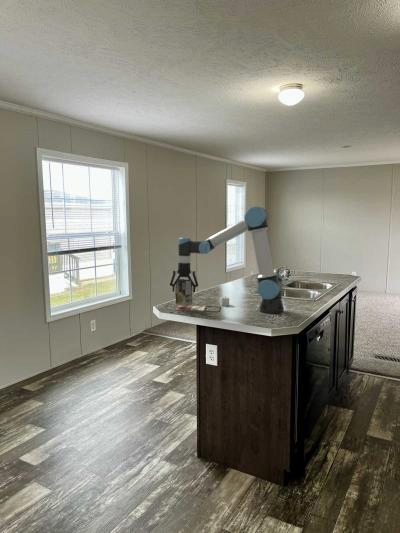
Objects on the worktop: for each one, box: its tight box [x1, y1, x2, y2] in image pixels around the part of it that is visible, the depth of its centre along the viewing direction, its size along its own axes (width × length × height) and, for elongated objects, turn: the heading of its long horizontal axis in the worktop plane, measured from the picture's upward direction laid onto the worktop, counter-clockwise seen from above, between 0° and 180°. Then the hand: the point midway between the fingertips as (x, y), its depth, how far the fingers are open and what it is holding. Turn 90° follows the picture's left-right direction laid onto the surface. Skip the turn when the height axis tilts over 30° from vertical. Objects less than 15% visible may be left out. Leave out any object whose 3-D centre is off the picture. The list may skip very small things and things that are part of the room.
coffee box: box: [175, 278, 193, 306], centre depth 244 cm, size 9×6×16 cm
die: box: [219, 296, 230, 307], centre depth 256 cm, size 5×5×5 cm
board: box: [173, 304, 222, 313], centre depth 244 cm, size 28×14×1 cm, turn 83°
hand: (183, 297), depth 244 cm, fingers closed on coffee box, 11 cm apart
